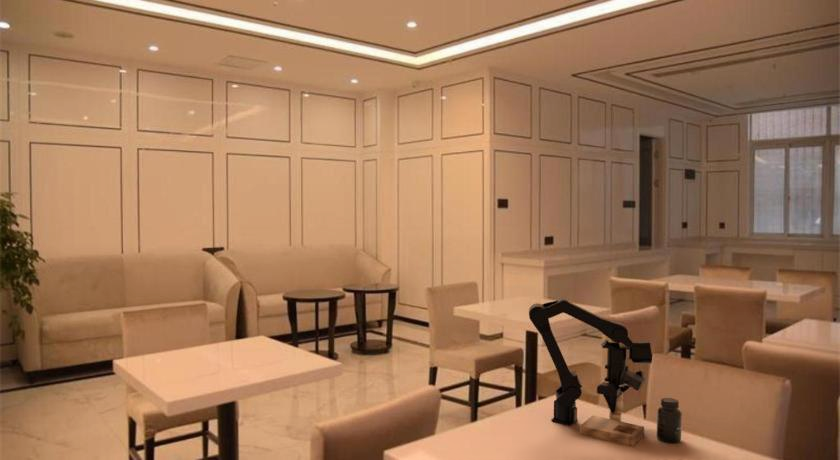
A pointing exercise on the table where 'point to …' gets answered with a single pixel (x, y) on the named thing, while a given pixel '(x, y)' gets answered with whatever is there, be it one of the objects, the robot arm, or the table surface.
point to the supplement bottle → (669, 421)
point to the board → (612, 430)
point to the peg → (617, 409)
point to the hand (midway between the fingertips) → (615, 410)
